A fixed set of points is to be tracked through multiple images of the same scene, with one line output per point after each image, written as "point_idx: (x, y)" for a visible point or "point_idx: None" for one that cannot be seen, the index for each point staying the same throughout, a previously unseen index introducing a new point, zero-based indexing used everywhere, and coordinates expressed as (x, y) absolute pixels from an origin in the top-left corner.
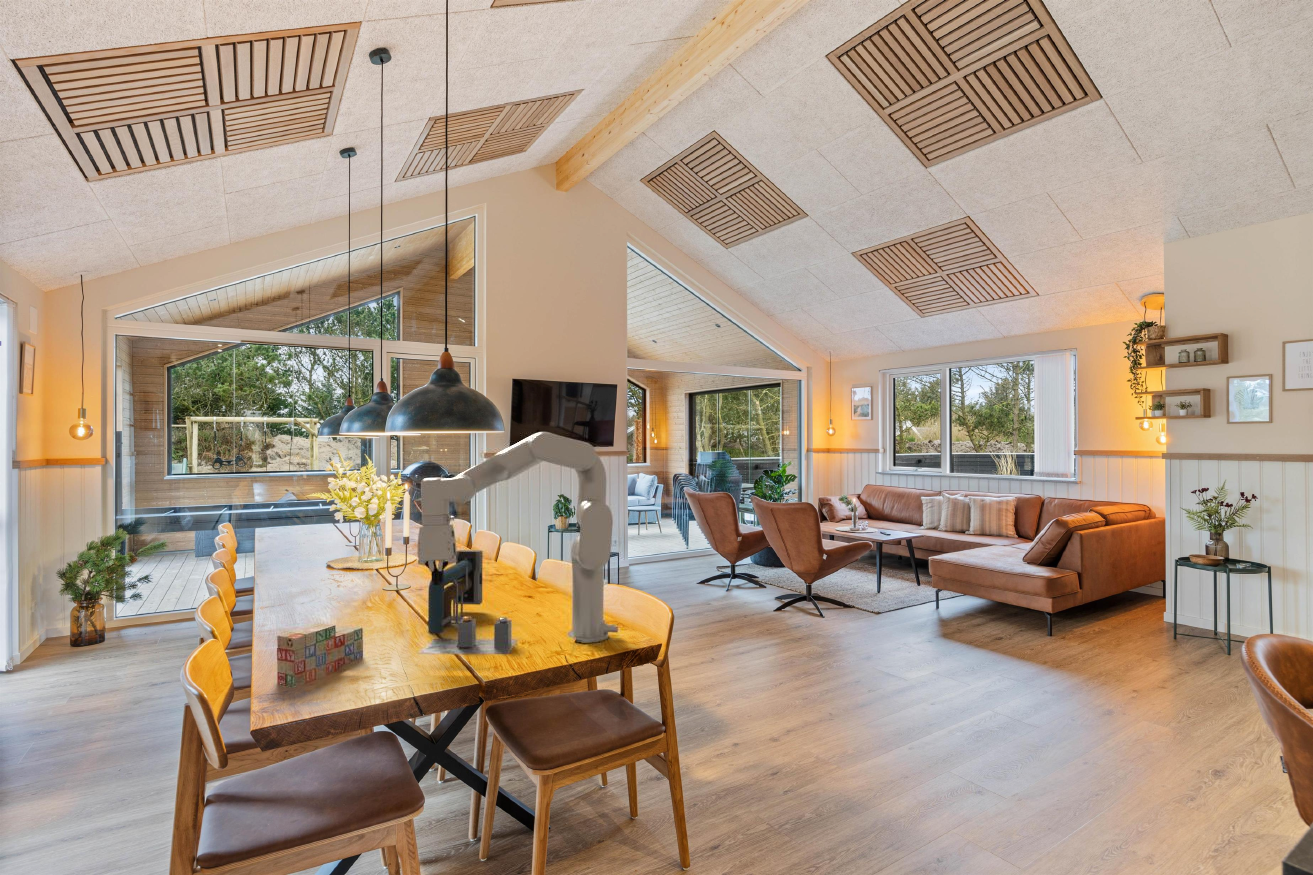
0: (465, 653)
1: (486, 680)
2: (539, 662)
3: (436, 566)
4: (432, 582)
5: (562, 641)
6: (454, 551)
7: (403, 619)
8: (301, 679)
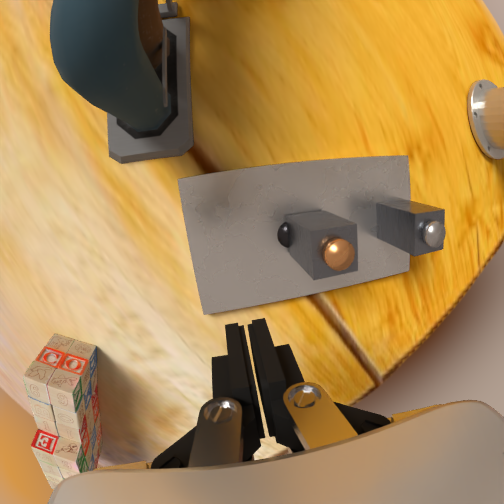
0: (323, 289)
1: (383, 373)
2: (449, 276)
3: (242, 420)
4: (73, 73)
5: (466, 143)
6: (498, 431)
7: (15, 23)
8: (100, 442)
